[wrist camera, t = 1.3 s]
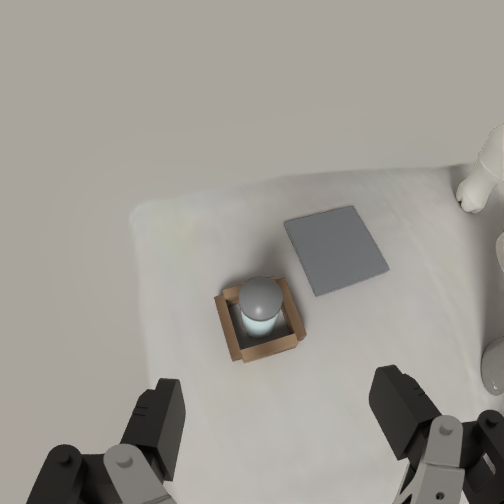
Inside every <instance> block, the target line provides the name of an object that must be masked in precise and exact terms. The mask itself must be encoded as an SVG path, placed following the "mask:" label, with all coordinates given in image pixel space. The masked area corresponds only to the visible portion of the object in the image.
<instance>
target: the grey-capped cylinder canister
mask: <svg viewBox="0 0 504 504" xmlns="http://www.w3.org/2000/svg"><path fill="white" fill-rule="evenodd" d="M282 301H283V294H282V290H281V288H280V287H279V285H278V284H277V283H276V282H275V281H273V280H271V279H269V278H266V277H255V278H252V279H250V280H248V281H247V282H245V283H244V284H243V286H242V287H241V289H240V292H239V305H240V308H241V314H242V323H243V328H244V330H245V332H246V333H247V334H248V335H250V336H252V337H254V338H264V337H266V336H268V335H270V334H271V333H272V331H273V330H274V327H275V324H276V320H277V316H278V312H279V311H280V308H281V305H282Z"/></svg>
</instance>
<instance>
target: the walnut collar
mask: <svg viewBox="0 0 504 504" xmlns="http://www.w3.org/2000/svg"><path fill="white" fill-rule="evenodd" d="M268 278H269V279H271V280H273V281H275V282H276V283H277V284H278V285H279V287H280V288H281V290H282V294H283V301H282V305H281V310H282V312H283V315H284V318H285V320H286V323H287V326H288V329H289V331H290V334H291V335H288V336H285V337H282V338H279V339H276V340H273V341H269V342H266V343H263V344H259V345H256V346H253V347H249V348H246V349H242V350H240V347H239V344H238V341H237V338H236V334H235V331H234V328H233V324H232V321H231V318H230V314H229V311H228V307H227V306H230V305H233V304H237V303H239V292H240V289H241V287H242V286H243V285H239V286H235V287H232V288H228V289H224V290H223V294H224V295H220V296H216V297H214V299H215V303H216V306H217V310H218V314H219V317H220V321H221V324H222V328H223V331H224V335H225V338H226V342H227V345H228V348H229V352H230V355H231V358H232V361H236V360H240V359H243V362H244V363H247V362H251V361H254V360H258V359H261V358H264V357H267V356H271V355H274V354H277V353H280V352H283V351H286V350H289V349H292V348H295V347H296V346H297V344H298V341H301V340H303V339H304V338H305V336H306V335H307V334H306V332H305V329H304V326H303V324H302V321H301V319H300V316H299V314H298V311H297V308H296V306H295V303H294V301H293V298H292V296H291V293H290V291H289V288H288V286H287V283H286V281H285V278H281V279H277V280H275V279H274V276H271V277H268Z"/></svg>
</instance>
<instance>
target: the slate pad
mask: <svg viewBox="0 0 504 504" xmlns="http://www.w3.org/2000/svg"><path fill="white" fill-rule="evenodd" d="M284 226H285V228H286V231H287V233H288V235H289V237H290V239H291V242H292V244H293V246H294V248H295V251H296V253H297V255H298V257H299V260H300V262H301V264H302V266H303V269H304V271H305V273H306V276H307V278H308V280H309V283H310V285H311V287H312V290H313V292H314V294H315V297H317V296H320V295H323V294H326V293H329V292H332V291H335V290H337V289H340V288H343V287H346V286H349V285H352V284H355V283H357V282H360V281H363V280H366V279H368V278H371V277H374V276H377V275H379V274H382V273H385V272H387V271H389V267H388V265H387V263H386V261H385V260H384V258H383V256H382V254H381V252H380V250H379V249H378V247H377V245H376V243H375V242H374V240H373V238H372V236H371V235H370V233H369V231H368V230H367V228H366V226H365V225H364V223H363V221H362V220H361V218H360V216H359V215H358V213H357V212H356V210H355V208H354V207H353V206H351V207H346V208H342V209H338V210H333V211H329V212H325V213H320V214H316V215H312V216H308V217H304V218H299V219H295V220H291V221H287V222H284Z"/></svg>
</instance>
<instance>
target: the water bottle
mask: <svg viewBox="0 0 504 504" xmlns="http://www.w3.org/2000/svg"><path fill="white" fill-rule="evenodd" d="M502 181H504V124H502V125H500V126H498V127H496V128H495V129H493V130H492V131H491V132H490V134H489V137H488V139H487V141H486V143H485V144H484V146H483V148H482V150H481V151H480V153H479V154H478V158H477V161H476V164H475V166H474V168H473V170H472V171H471V173H470V174H469V175H468V177H467V178H466V179H465V180H463V181H462V182H461V183H460V184H459V186H458V189H457V193H456V199H457V201H462V204H461V207H462V209H463V210H464V211H466V212H470V211H471V212H472V213H473V214H475V213H478V212H479V211H481V210H482V209H483V208H484V207H485V205H486V202H487V200H488V197H489V195H490V193H491V192H492V190H493V189H494V188H495V186H496V185H497V184H499V183H500V182H502Z"/></svg>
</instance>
